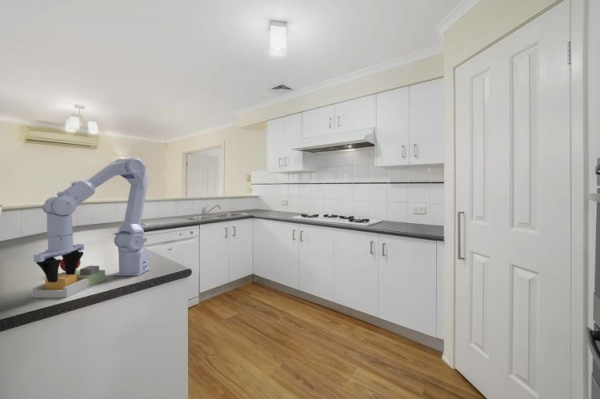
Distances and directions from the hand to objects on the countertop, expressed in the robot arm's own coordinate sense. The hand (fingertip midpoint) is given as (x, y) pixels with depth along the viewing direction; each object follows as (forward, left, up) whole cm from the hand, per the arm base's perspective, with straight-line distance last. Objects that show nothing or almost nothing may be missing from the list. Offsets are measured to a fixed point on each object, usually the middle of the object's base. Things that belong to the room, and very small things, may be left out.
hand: (62, 278), depth 79 cm
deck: (0, -4, -4) cm, 6 cm away
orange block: (0, 0, -4) cm, 5 cm away
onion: (+14, -18, -5) cm, 24 cm away
